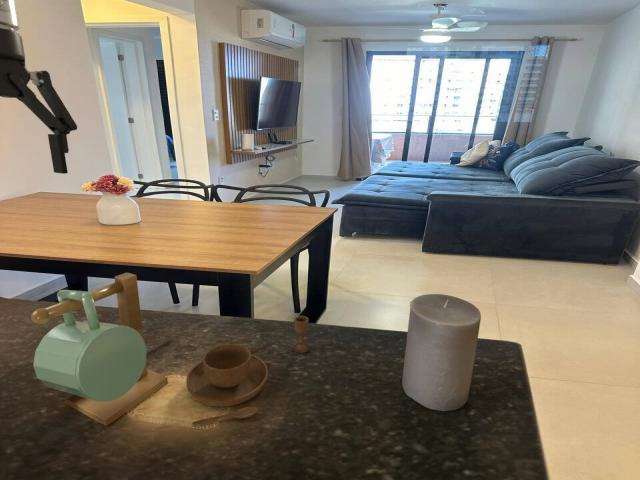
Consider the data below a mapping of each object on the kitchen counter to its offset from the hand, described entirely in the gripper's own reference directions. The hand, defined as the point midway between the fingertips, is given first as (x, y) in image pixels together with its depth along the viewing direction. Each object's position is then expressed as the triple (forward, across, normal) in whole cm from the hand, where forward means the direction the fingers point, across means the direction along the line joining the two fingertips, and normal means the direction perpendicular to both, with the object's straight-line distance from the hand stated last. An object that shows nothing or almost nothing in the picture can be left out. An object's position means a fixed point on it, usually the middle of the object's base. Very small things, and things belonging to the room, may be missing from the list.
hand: (16, 176), depth 61 cm
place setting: (+29, +8, -40) cm, 50 cm away
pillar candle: (+29, +19, -65) cm, 74 cm away
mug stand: (+29, -6, -23) cm, 37 cm away
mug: (+16, -8, -32) cm, 37 cm away
